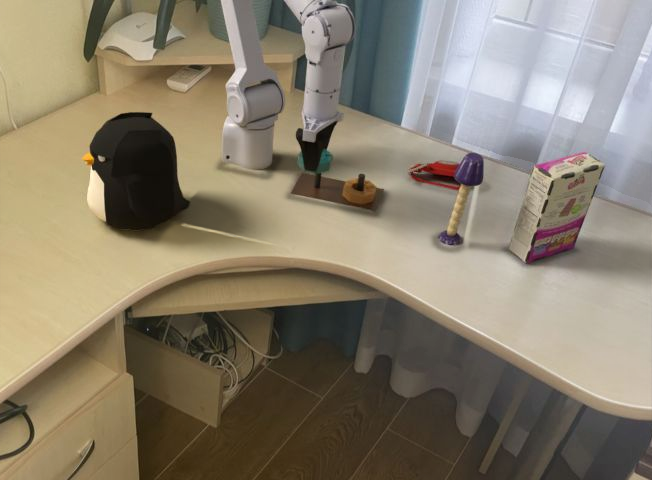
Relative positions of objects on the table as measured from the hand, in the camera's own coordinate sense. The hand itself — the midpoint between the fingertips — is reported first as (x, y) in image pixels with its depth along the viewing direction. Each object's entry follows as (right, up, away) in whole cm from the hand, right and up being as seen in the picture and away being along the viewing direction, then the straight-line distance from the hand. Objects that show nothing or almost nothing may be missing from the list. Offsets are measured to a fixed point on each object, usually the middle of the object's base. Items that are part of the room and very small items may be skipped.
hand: (314, 161), depth 130 cm
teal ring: (0, 0, +1) cm, 1 cm away
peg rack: (+5, -4, +8) cm, 10 cm away
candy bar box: (+39, -16, -1) cm, 42 cm away
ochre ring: (+9, -5, +7) cm, 12 cm away
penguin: (-31, -9, +1) cm, 32 cm away
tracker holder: (+25, 0, +14) cm, 29 cm away
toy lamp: (+23, -15, -1) cm, 28 cm away
